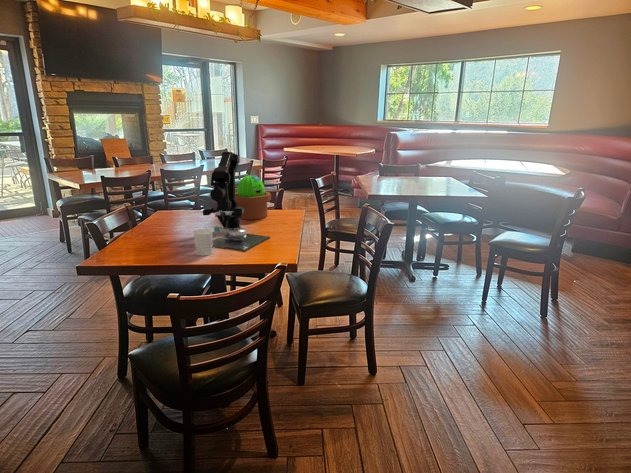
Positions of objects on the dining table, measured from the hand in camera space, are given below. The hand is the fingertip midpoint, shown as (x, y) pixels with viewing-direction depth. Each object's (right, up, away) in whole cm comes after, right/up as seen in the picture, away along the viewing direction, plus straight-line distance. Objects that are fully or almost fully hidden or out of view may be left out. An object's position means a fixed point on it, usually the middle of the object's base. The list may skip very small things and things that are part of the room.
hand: (225, 228), depth 199 cm
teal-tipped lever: (+3, -3, -3) cm, 5 cm away
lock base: (+7, -6, -4) cm, 10 cm away
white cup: (-5, -12, -20) cm, 23 cm away
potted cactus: (+7, +8, +44) cm, 45 cm away
